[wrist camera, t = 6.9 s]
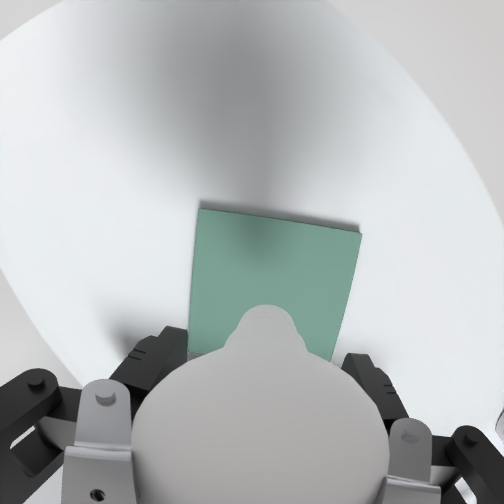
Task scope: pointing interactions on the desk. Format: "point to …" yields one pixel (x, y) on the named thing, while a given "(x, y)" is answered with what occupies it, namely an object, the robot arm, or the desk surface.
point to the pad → (269, 277)
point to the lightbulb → (259, 426)
